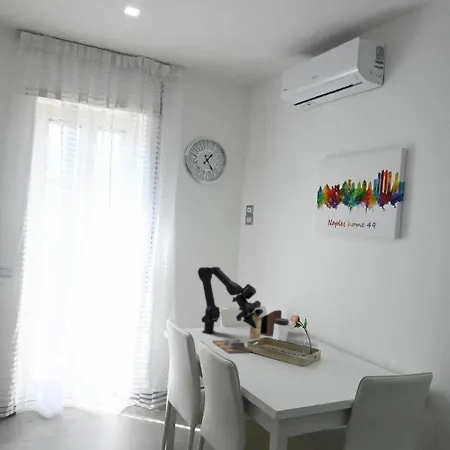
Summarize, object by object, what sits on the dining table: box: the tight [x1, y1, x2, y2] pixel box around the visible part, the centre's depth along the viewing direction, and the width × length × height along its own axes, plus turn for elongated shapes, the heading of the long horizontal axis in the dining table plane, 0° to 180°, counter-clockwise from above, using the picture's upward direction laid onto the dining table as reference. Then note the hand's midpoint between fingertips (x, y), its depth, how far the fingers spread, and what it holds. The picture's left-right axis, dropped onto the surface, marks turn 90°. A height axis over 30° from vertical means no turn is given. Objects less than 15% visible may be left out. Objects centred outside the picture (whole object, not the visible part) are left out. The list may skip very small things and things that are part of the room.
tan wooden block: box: [249, 315, 263, 341], centre depth 268 cm, size 5×3×12 cm, turn 51°
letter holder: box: [260, 309, 283, 337], centre depth 304 cm, size 10×20×14 cm, turn 149°
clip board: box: [211, 337, 253, 354], centre depth 261 cm, size 20×14×4 cm
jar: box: [272, 317, 290, 342], centre depth 287 cm, size 9×8×12 cm
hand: (257, 327), depth 267 cm, fingers closed on tan wooden block, 3 cm apart
